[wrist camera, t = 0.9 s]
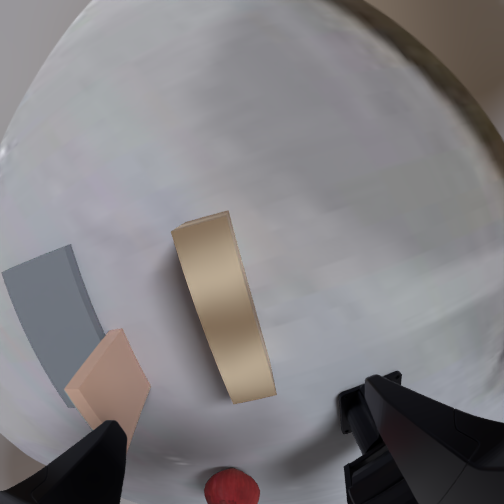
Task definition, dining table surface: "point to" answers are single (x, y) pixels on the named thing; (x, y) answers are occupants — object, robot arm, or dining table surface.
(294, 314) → the dining table surface
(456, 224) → the dining table surface
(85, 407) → the tile
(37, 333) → the mat
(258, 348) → the curved wooden plank
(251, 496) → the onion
